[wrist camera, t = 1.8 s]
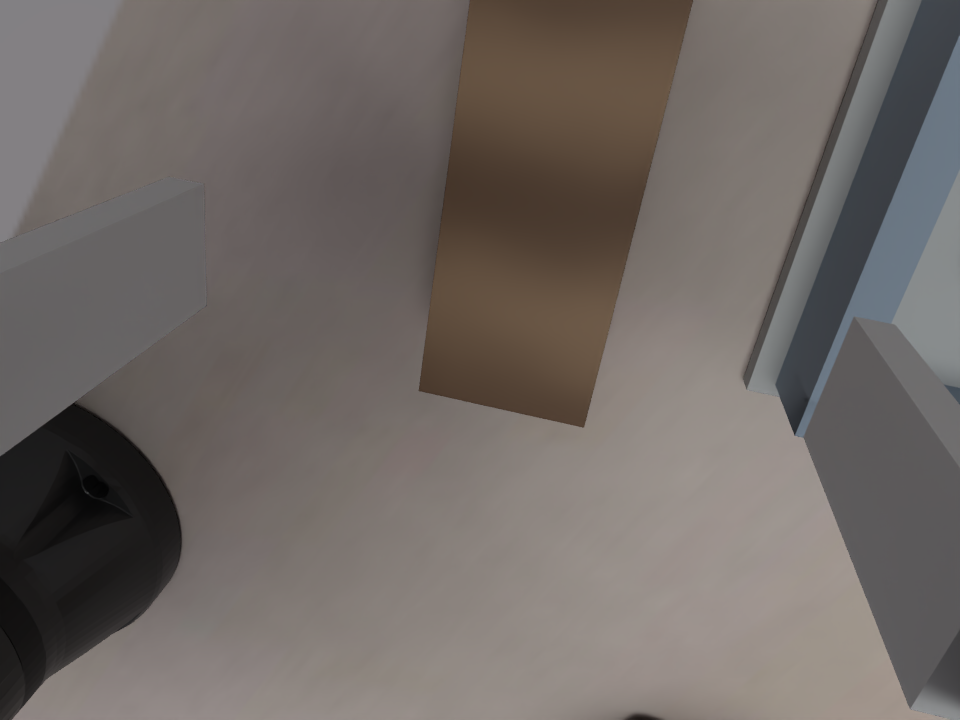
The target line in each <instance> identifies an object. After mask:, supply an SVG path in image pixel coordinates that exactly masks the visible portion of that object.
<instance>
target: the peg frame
mask: <svg viewBox="0 0 960 720" xmlns="http://www.w3.org/2000/svg"><path fill="white" fill-rule="evenodd" d="M854 316H855V317H860V318H865V319H870V320H875V321H879V322H884V323H889V324H894V325H896V326H897V327H898V329H899V330H900V331H901V332H902V334H903V335H904V336H905V337H906V339H907V340H908V341H909V342H910V344H911V345H912V346H913V347H914V349H915V350H916V351H917V352H918V353H919V355H920V356H921V357H922V358H923V360H924V361H925V362H926V363H927V365H928V366H929V367H930V368H931V370H932V371H933V372H934V373H935V375H936V376H937V377H938V378H939V380H940V381H941V382H942V383H943V385H944V386H945V387H946V388H947V389H948V391H949V392H950V393H951V394H952V396H953V397H954V398H955V399H956V401H957V402H958V403H959V404H960V0H879V1H878V4H877V6H876V9H875V12H874V15H873V18H872V20H871V23H870V26H869V29H868V31H867V34H866V37H865V40H864V43H863V45H862V48H861V51H860V54H859V57H858V59H857V62H856V65H855V68H854V71H853V73H852V76H851V79H850V82H849V85H848V87H847V90H846V93H845V96H844V99H843V101H842V104H841V107H840V110H839V113H838V115H837V118H836V121H835V124H834V127H833V129H832V132H831V135H830V138H829V141H828V143H827V146H826V149H825V152H824V155H823V157H822V160H821V163H820V166H819V168H818V171H817V174H816V177H815V180H814V182H813V185H812V188H811V191H810V194H809V196H808V199H807V202H806V205H805V208H804V210H803V213H802V216H801V219H800V222H799V224H798V227H797V230H796V233H795V236H794V238H793V241H792V244H791V247H790V250H789V252H788V255H787V258H786V261H785V264H784V266H783V269H782V272H781V275H780V278H779V280H778V283H777V286H776V289H775V292H774V294H773V297H772V300H771V303H770V305H769V308H768V311H767V314H766V317H765V319H764V322H763V325H762V328H761V331H760V333H759V336H758V339H757V342H756V345H755V347H754V350H753V353H752V356H751V359H750V361H749V364H748V367H747V370H746V373H745V375H744V378H743V380H744V383H745V386H746V390H749V391H754V392H759V393H763V394H768V395H773V396H777V397H780V399H781V401H782V404H783V406H784V409H785V412H786V414H787V417H788V419H789V422H790V424H791V427H792V430H793V432H794V435H795V436H798V437H803V438H804V434H805V432H806V429H807V427H808V425H809V422H810V420H811V417H812V415H813V413H814V410H815V408H816V406H817V403H818V401H819V398H820V396H821V394H822V391H823V389H824V386H825V384H826V382H827V379H828V377H829V375H830V372H831V370H832V367H833V365H834V363H835V360H836V358H837V356H838V353H839V351H840V348H841V346H842V344H843V341H844V339H845V336H846V334H847V332H848V329H849V327H850V325H851V322H852V320H853V317H854Z"/></svg>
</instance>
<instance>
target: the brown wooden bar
mask: <svg viewBox="0 0 960 720" xmlns="http://www.w3.org/2000/svg"><path fill="white" fill-rule="evenodd" d="M692 3H693V0H470V4H469V12H468V19H467V27H466V35H465V42H464V50H463V57H462V65H461V73H460V80H459V88H458V96H457V103H456V111H455V119H454V126H453V134H452V141H451V149H450V157H449V164H448V172H447V180H446V187H445V195H444V203H443V210H442V218H441V225H440V233H439V241H438V248H437V256H436V264H435V271H434V279H433V286H432V294H431V302H430V309H429V317H428V325H427V332H426V340H425V348H424V355H423V363H422V370H421V378H420V386H419V391H422V392H426V393H431V394H435V395H440V396H444V397H449V398H453V399H458V400H462V401H467V402H471V403H476V404H480V405H485V406H489V407H494V408H498V409H503V410H507V411H512V412H516V413H521V414H525V415H530V416H534V417H539V418H543V419H548V420H552V421H557V422H561V423H566V424H570V425H575V426H579V427H584V425H585V421H586V417H587V413H588V410H589V406H590V402H591V398H592V394H593V390H594V386H595V382H596V378H597V374H598V370H599V366H600V363H601V359H602V355H603V351H604V347H605V343H606V339H607V335H608V331H609V327H610V323H611V320H612V316H613V312H614V308H615V304H616V300H617V296H618V292H619V288H620V284H621V280H622V277H623V273H624V269H625V265H626V261H627V257H628V253H629V249H630V245H631V241H632V237H633V233H634V230H635V226H636V222H637V218H638V214H639V210H640V206H641V202H642V198H643V194H644V190H645V187H646V183H647V179H648V175H649V171H650V167H651V163H652V159H653V155H654V151H655V147H656V144H657V140H658V136H659V132H660V128H661V124H662V120H663V116H664V112H665V108H666V104H667V100H668V97H669V93H670V89H671V85H672V81H673V77H674V73H675V69H676V65H677V61H678V57H679V54H680V50H681V46H682V42H683V38H684V34H685V30H686V26H687V22H688V18H689V14H690V11H691V7H692Z"/></svg>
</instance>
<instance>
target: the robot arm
mask: <svg viewBox="0 0 960 720" xmlns="http://www.w3.org/2000/svg"><path fill="white" fill-rule="evenodd" d="M205 306H207V296H206V250H205V204H204V184H203V183H198V182H193V181H188V180H183V179H178V178H174V177H167V178H165V179H162V180H159V181H157V182H154V183H152V184H149V185H147V186H144V187H142V188H139V189H136V190H134V191H131V192H129V193H126V194H124V195H121V196H119V197H116V198H113V199H111V200H108V201H106V202H103V203H101V204H98V205H96V206H93V207H90V208H88V209H85V210H83V211H80V212H78V213H75V214H73V215H70V216H67V217H65V218H62V219H60V220H57V221H55V222H52V223H50V224H47V225H44V226H42V227H39V228H37V229H34V230H32V231H29V232H27V233H24V234H21V235H19V236H16V237H14V238H11V239H9V240H6V241H4V242H1V243H0V720H12V719H13V718H14V716H15V715H16V714H17V713H18V712H19V710H20V709H21V708H22V707H23V706H24V705H25V703H26V702H27V701H28V700H29V699H30V698H31V696H32V695H33V694H34V693H35V692H36V690H37V689H38V688H39V687H40V686H41V685H42V684H43V682H44V681H45V680H46V679H48V678H49V677H50V676H52V675H53V674H55V673H56V672H58V671H59V670H61V669H62V668H64V667H65V666H67V665H68V664H70V663H71V662H73V661H74V660H76V659H77V658H79V657H80V656H81V655H83V654H84V653H86V652H87V651H89V650H90V649H92V648H93V647H95V646H96V645H97V644H99V643H100V642H102V641H103V640H105V639H106V638H107V637H109V636H110V635H111V634H113V633H115V632H117V631H119V630H120V629H122V628H124V627H126V626H128V625H130V624H131V623H133V622H134V621H135V620H136V619H138V618H139V617H140V616H141V615H142V614H143V613H144V612H145V611H146V610H147V609H148V608H149V607H150V605H151V604H152V603H153V601H154V600H155V599H156V598H157V596H158V595H159V594H160V593H161V591H162V590H163V589H164V587H165V586H166V585H167V584H168V582H169V581H170V579H171V578H172V576H173V574H174V572H175V570H176V567H177V564H178V560H179V555H180V530H179V525H178V520H177V516H176V513H175V510H174V507H173V505H172V502H171V500H170V498H169V496H168V494H167V492H166V490H165V488H164V486H163V484H162V483H161V481H160V479H159V478H158V476H157V475H156V473H155V472H154V471H153V469H152V468H151V467H150V465H149V464H148V463H147V462H146V460H145V459H144V458H143V457H142V456H141V455H140V454H139V453H138V452H137V450H136V449H135V448H134V447H133V446H132V445H130V444H129V443H128V442H127V441H126V440H125V439H124V438H123V437H122V436H120V435H119V434H118V433H117V432H116V431H114V430H113V429H112V428H110V427H109V426H108V425H106V424H105V423H103V422H102V421H100V420H99V419H97V418H96V417H94V416H92V415H91V414H89V413H87V412H85V411H84V410H82V409H80V408H78V407H76V406H74V405H71V404H73V403H74V402H75V401H77V400H78V399H79V398H81V397H82V396H84V395H85V394H86V393H88V392H89V391H90V390H92V389H93V388H94V387H96V386H97V385H99V384H100V383H101V382H103V381H104V380H105V379H107V378H108V377H110V376H111V375H112V374H114V373H115V372H116V371H118V370H119V369H121V368H122V367H123V366H125V365H126V364H127V363H129V362H130V361H131V360H133V359H134V358H136V357H137V356H138V355H140V354H141V353H142V352H144V351H145V350H147V349H148V348H149V347H151V346H152V345H153V344H155V343H156V342H158V341H159V340H160V339H162V338H163V337H164V336H166V335H167V334H168V333H170V332H171V331H173V330H174V329H175V328H177V327H178V326H179V325H181V324H182V323H184V322H185V321H186V320H188V319H189V318H190V317H192V316H193V315H195V314H196V313H197V312H199V311H200V310H201V309H203V308H204V307H205ZM804 440H805V442H806V445H807V447H808V450H809V453H810V455H811V458H812V460H813V463H814V465H815V468H816V470H817V473H818V476H819V478H820V481H821V483H822V486H823V488H824V491H825V493H826V496H827V499H828V501H829V504H830V506H831V509H832V511H833V514H834V516H835V519H836V522H837V524H838V527H839V529H840V532H841V534H842V537H843V539H844V542H845V544H846V547H847V550H848V552H849V555H850V557H851V560H852V562H853V565H854V567H855V570H856V573H857V575H858V578H859V580H860V583H861V585H862V588H863V590H864V593H865V596H866V598H867V601H868V603H869V606H870V608H871V611H872V613H873V616H874V619H875V621H876V624H877V626H878V629H879V631H880V634H881V636H882V639H883V641H884V644H885V647H886V649H887V652H888V654H889V657H890V659H891V662H892V664H893V667H894V670H895V672H896V675H897V677H898V680H899V682H900V685H901V687H902V690H903V693H904V695H905V698H906V700H907V703H908V705H909V708H910V709H911V710H915V711H919V712H923V713H927V714H931V715H935V716H939V717H943V718H947V719H951V720H960V404H959V403H958V402H957V401H956V399H955V398H954V397H953V396H952V394H951V393H950V392H949V391H948V389H947V388H946V387H945V386H944V385H943V383H942V382H941V381H940V380H939V378H938V377H937V376H936V375H935V373H934V372H933V371H932V370H931V368H930V367H929V366H928V365H927V363H926V362H925V361H924V360H923V358H922V357H921V356H920V355H919V353H918V352H917V351H916V350H915V349H914V347H913V346H912V345H911V344H910V342H909V341H908V340H907V339H906V337H905V336H904V335H903V334H902V332H901V331H900V330H899V329H898V327H897V326H896V325H894V324H889V323H884V322H879V321H875V320H870V319H865V318H860V317H855V316H854V317H853V320H852V322H851V325H850V327H849V329H848V332H847V334H846V336H845V339H844V341H843V344H842V346H841V348H840V351H839V353H838V356H837V358H836V360H835V363H834V365H833V367H832V370H831V372H830V375H829V377H828V379H827V382H826V384H825V386H824V389H823V391H822V394H821V396H820V398H819V401H818V403H817V406H816V408H815V410H814V413H813V415H812V417H811V420H810V422H809V425H808V427H807V429H806V432H805V434H804Z"/></svg>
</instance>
